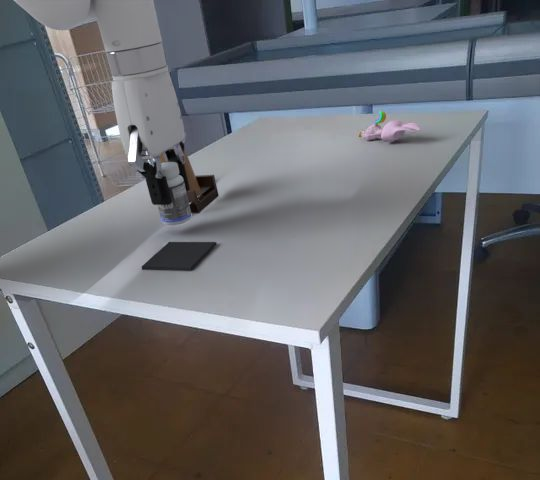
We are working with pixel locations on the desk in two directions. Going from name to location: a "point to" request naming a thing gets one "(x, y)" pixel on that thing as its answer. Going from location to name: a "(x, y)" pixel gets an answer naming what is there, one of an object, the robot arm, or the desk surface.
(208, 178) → the roll stand
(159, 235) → the desk surface
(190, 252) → the coaster
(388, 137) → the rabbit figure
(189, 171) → the paper roll
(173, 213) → the pill bottle
